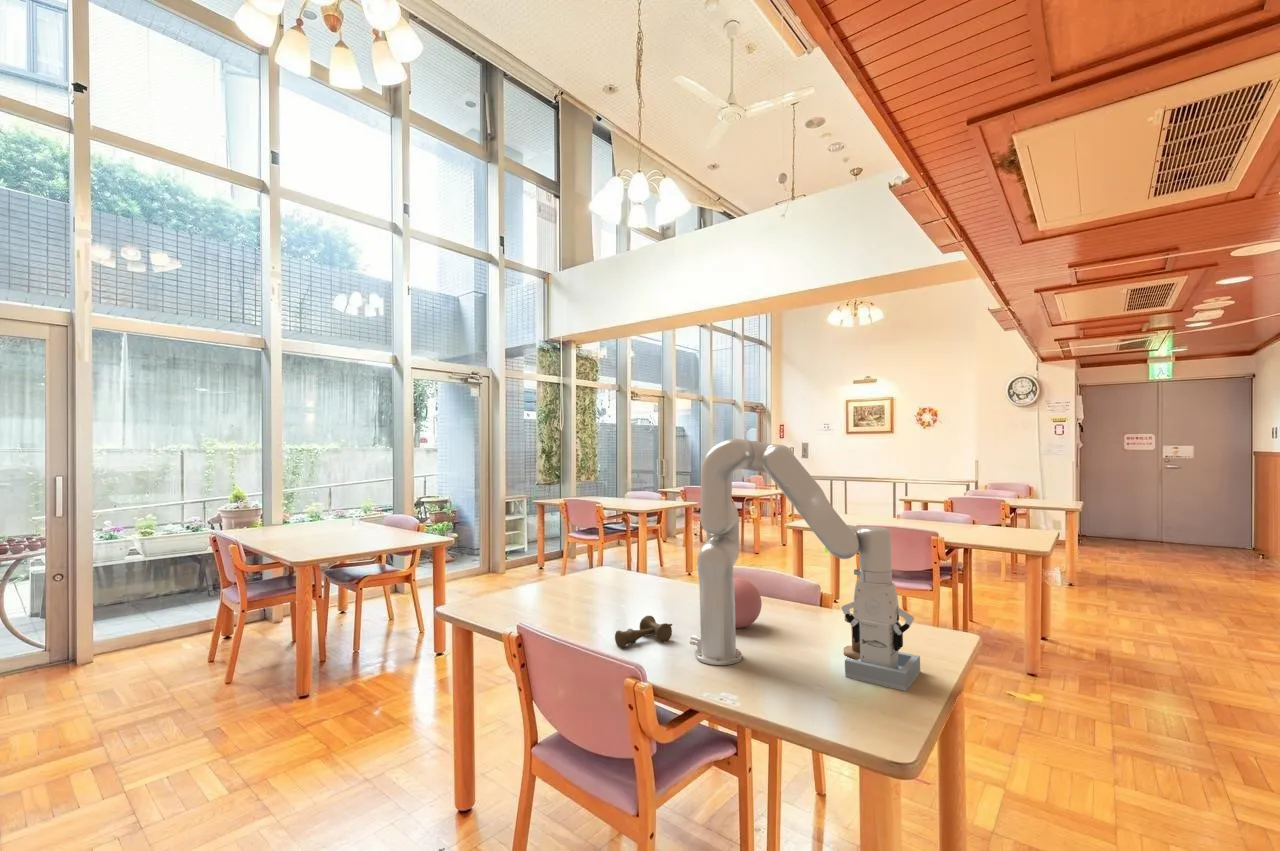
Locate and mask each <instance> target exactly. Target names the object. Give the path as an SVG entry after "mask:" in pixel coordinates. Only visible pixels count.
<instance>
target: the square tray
mask: <svg viewBox="0 0 1280 851" xmlns="http://www.w3.org/2000/svg"><path fill="white" fill-rule="evenodd" d="M920 673H921V655H918V654H911V653H907V652H902V651H898V669H893V668H888V667H883V666H879V665H874V664H870V663H865V662H860V659H859V660H855V659H851V658H846V659H844V676H845V678H849V679H853V680H858V681H861V682H865V681H866V683H870V684H875V685H879V686H883V687H887V688H890V689H891V688H892V689H896V690H899V691H904V692H907V690H908V689H909V687H910V686H911V685H912V684H913V683H914V681H915V680H916V679H917V677H919V675H920Z"/></svg>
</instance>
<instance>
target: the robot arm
mask: <svg viewBox="0 0 1280 851" xmlns="http://www.w3.org/2000/svg"><path fill="white" fill-rule="evenodd" d="M738 470H746V471H752V472H758V473H759V472H760V473H766V474H767V475H768V477H769V478H771V480H772V481H773V482H774V483H775V484H776V486H777V487H778V488H779V490H781V492H782V493H783V495H785V497H786V498H787V500H788V501H789V502H790V503H791V504H792V505H793V507H794V508H795V510H796V511H797V513H798V514H799V515H800V516H801V517H802V519H803V520H804V521H805V523H806V524H807V525H808V527H809V528H810V530H812V532H813V533H814V535H815V536H816V538H818V540H819V541H820V542H821V544H823V546H824V547H825V548H826V549H827V551H829V553H830V554H831V555H832V556H834V557H835V558H838V559H841V560H847V559H851V558H853V557H854V556H856V554H858V556H859V557H858V560H859V561H858V562H859V565H858V566H859V568H857V569H853V575H856V576H857V577H858V579H856V581H855V586H854V596H853V601H851V602H849V603H846V604H844V605H842V606H841V611H842V613H843V614H844V618H845V617H846V619H847V620H848V621H849V622H850V623H849V625H850V626H852V629H851V633H852V632H853V638H854V642H855V643H858V642H859V641H860V624H859V622H860V619H863V620H869V621H875V622H880V623H885V624H890V626H892V628H893V629H894V631H895V632H896V633H895V634H894V649H895V651H898V652H900V651H899V650H900V649H902V648H903V646H904V639H903V638H904V632H906V631H907V630H909V629H910V627H912V625H913V623H914V620H915V617H914V616H913V615H912V614H910V613H908V612H907V611H905V610H903V609H902V608H900V606H899V598H898V593H897V588H896V585H895V583H894V582H893V572H892V569H893V568H892V538H891V536H892V535H891V532H890V530H889V529H888V528H887V527H883V526H882V527H881V526H857V525H852V524H851V525H850V524H847V523H846V522H845V521H844V520H843V518H842V517H841V516H840V515H839V514H838V512H837V511H836V510H835V509H834V508H833V506H832V505H831V503H830V502H829V500H828V498H827V496H826V494H825V492H824V490H823V489H822V488H821V486H820V485H819V484H818V482H817V481H816V480H815V478H814V477H813V476H812V475H811V473H809V471H808V470H807V469H806V468H805V467H804V465H803V464H802V463H801V462H800V460H798V459H797V457H796V456H795V454H794V451H793V450H792V448H790V447H788V446H786V445H783V444H775V443H767V442H762V441H761V442H760V441H753V440H748V439H744V438H743V439H742V438H730V439H725V440H723V441H721V442H720V443H717V444H716V445H714V446H713V447H712V448H711V449H710V450H709V451H708V452H707V453H706V455H705V457H704V459H703V462H702V466H701V473H700V474H701V476H700V478H701V479H700V513H699V519H700V525H701V527H702V529H703V530H704V532H706V542H705V543H704V544H703V545H702V547H701V548H700V549H699V552H698V555H697V560H696V562H697V563H696V564H697V565H696V567H697V572H698V584H699V586H698V587H699V615H700V617H699V618H700V620H699V621H700V623H699V624H700V636H698V635H695V634H692V635H691V636H690V640H689V644H690V645H692V646H696V647H697V648H696V649H695V650H696V651H695V654H694V656H695V658H696V660H697V661H700V662H701V663H704V664H707V665H711V666H712V665H713V666H728V665H734V664H737V663H739V662H740V661H741V660H742V658H743V653H742V651H741V650H740V649H738V648H737V640H736V638H737V635H736V632H737V631H736V629H737V628H735V590H734V578H735V577H734V566H735V564H736V563H737V561H738V559H739V554H740V553H739V552H740V533H739V532H740V528H739V527H740V517H739V516H740V515H739V511H738V509H737V508H738V507H737V506H736V505H735V503H733V500H732V499H733V498H732V492H733V485H732V484H733V482H732V478H733V476H732V475H733V474H734V472H735V471H738ZM851 609H852V610H853V614H854V616H853V615H852V613H851V612H850V610H851ZM900 617H902V618H903V619H904V620H905V622H904V624H903V625H902V624H901V623H900V621H899V620H900Z"/></svg>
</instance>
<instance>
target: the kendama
mask: <svg viewBox="0 0 1280 851" xmlns="http://www.w3.org/2000/svg"><path fill="white" fill-rule="evenodd" d="M672 626H673V623H666V622H665V623H657V622H656V619H655V617H654V616H653V615H645V616H644V617H643V618H642V619H641V620H640V623H639V629H633V628H627V630H624V631H622V630H620V629H618V630H616V632H615V634H614V641H615V644H616V646H617V647H618V648H619V647H620V649H625V648H626V646H627V645H629V644H632V645H634V644H636V643H637V641H638V640H639V639H641V638H643V637H645V636H650V635H654V636H656V640H658V642H660V643H661V642H662V644H663V643H667V642H668V641H669V640H671V638H672V634H673V630H672V629H673V628H672Z"/></svg>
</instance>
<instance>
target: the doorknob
mask: <svg viewBox="0 0 1280 851" xmlns="http://www.w3.org/2000/svg"><path fill="white" fill-rule="evenodd" d="M851 614H852V615H853V616H854V614H853V613H851ZM844 622H847V623H848V624H850V622H849V621H848V620H847V619H846V617H845V616H844ZM859 624H860V622H859ZM850 626H851V625H850ZM851 630H852V626H851ZM843 655H844V656H845V657H846V656H847V658H848V657H849V658H848V659H851V658H852V659H851V660H855V659H860V641H859V642H858V643H855V642H854V638H853V632H852V631H851V645H847V646H845V647H843Z"/></svg>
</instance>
